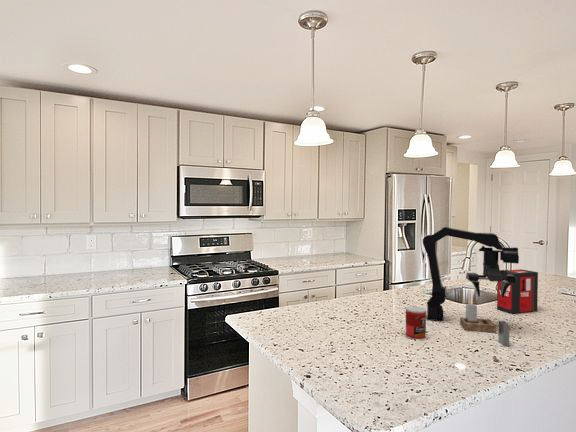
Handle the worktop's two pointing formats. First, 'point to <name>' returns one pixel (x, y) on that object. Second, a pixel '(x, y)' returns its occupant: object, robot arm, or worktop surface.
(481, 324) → the brown wooden slotted frame
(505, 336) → the grey rectangular block
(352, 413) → the worktop surface
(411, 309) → the canned food
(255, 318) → the worktop surface
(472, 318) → the square bit
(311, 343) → the worktop surface
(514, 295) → the cleaning product box
